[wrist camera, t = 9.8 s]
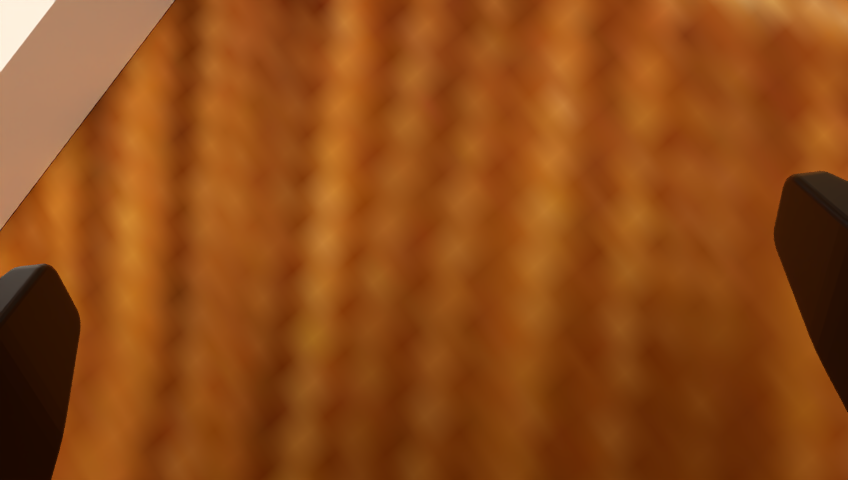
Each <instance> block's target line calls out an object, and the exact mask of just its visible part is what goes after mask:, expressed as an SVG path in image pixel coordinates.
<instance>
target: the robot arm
mask: <svg viewBox="0 0 848 480" xmlns="http://www.w3.org/2000/svg"><path fill="white" fill-rule="evenodd" d="M774 242H775V246H776V249H777V252H778V255H779V257H780V260H781V263H782V265H783V268H784V271H785V273H786V276H787V278H788V281H789V284H790V286H791V289H792V291H793V294H794V297H795V299H796V302H797V305H798V307H799V310H800V312H801V315H802V318H803V320H804V323H805V326H806V328H807V331H808V333H809V336H810V338H811V341H812V343H813V345H814V348H815V350H816V352H817V354H818V356H819V358H820V360H821V362H822V364H823V366H824V368H825V370H826V372H827V374H828V376H829V378H830V380H831V382H832V383H833V385H834V387H835V389H836V391H837V393H838V395H839V397H840V399H841V400H842V402H843V404H844V406H845V408H846V410H847V412H848V181H846V180H844V179H842V178H839V177H837V176H835V175H833V174H830V173H828V172H825V171H817V172H808V173H800V174H793V175H791V176H790V177H789V178H787V180H786V181H785V184H784V187H783V190H782V195H781V200H780V204H779V209H778V213H777V218H776V222H775V227H774ZM79 335H80V317H79V313H78V311H77V308H76V307H75V305H74V303H73V301H72V299H71V297H70V295H69V293H68V292H67V290H66V288H65V286H64V284H63V282H62V280H61V278H60V277H59V275H58V273H57V272H56V270H55V269H54V268H53V267H52V266H50V265H47V264H37V265H29V266H21V267H16V268H14V269H12V270H10V271H9V272H8V273H6V274H5V275H4V276H2V277H1V278H0V480H51V478H52V475H53V471H54V468H55V464H56V461H57V457H58V453H59V450H60V446H61V442H62V438H63V433H64V428H65V423H66V417H67V411H68V405H69V399H70V392H71V386H72V380H73V373H74V367H75V361H76V354H77V348H78V342H79Z"/></svg>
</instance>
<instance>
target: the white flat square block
mask: <svg viewBox="0 0 848 480" xmlns="http://www.w3.org/2000/svg"><path fill="white" fill-rule="evenodd" d="M173 2H174V0H0V230H1V229H2V227H3V226H4V225H5V223H6V222H7V221H8V219H9V218H10V217H11V215H12V214H13V213H14V211H15V210H16V209H17V207H18V206H19V205H20V203H21V202H22V201H23V200H24V198H25V197H26V196H27V194H28V193H29V192H30V190H31V189H32V188H33V186H34V185H35V184H36V182H37V181H38V180H39V178H40V177H41V176H42V174H43V173H44V172H45V171H46V169H47V168H48V167H49V165H50V164H51V163H52V161H53V160H54V159H55V157H56V156H57V155H58V153H59V152H60V151H61V149H62V148H63V147H64V145H65V144H66V143H67V142H68V140H69V139H70V138H71V136H72V135H73V134H74V132H75V131H76V130H77V128H78V127H79V126H80V124H81V123H82V122H83V120H84V119H85V118H86V116H87V115H88V114H89V113H90V111H91V110H92V109H93V107H94V106H95V105H96V103H97V102H98V101H99V99H100V98H101V97H102V95H103V94H104V93H105V91H106V90H107V89H108V87H109V86H110V85H111V84H112V82H113V81H114V80H115V78H116V77H117V76H118V74H119V73H120V72H121V70H122V69H123V68H124V66H125V65H126V64H127V62H128V61H129V60H130V58H131V57H132V56H133V55H134V53H135V52H136V51H137V49H138V48H139V47H140V45H141V44H142V43H143V41H144V40H145V39H146V37H147V36H148V35H149V33H150V32H151V31H152V29H153V28H154V27H155V26H156V24H157V23H158V22H159V20H160V19H161V18H162V16H163V15H164V14H165V12H166V11H167V10H168V8H169V7H170V6H171V4H172V3H173Z"/></svg>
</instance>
